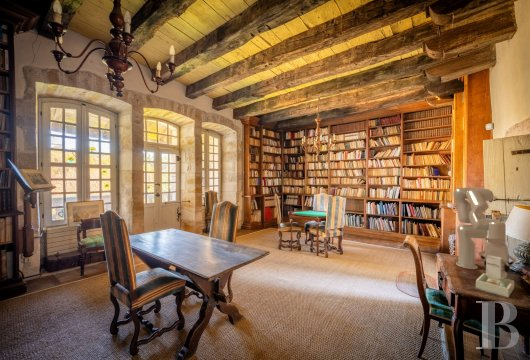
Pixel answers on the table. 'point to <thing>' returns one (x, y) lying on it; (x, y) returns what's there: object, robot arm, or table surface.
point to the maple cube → (493, 282)
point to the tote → (503, 289)
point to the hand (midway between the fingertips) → (496, 269)
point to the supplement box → (495, 267)
